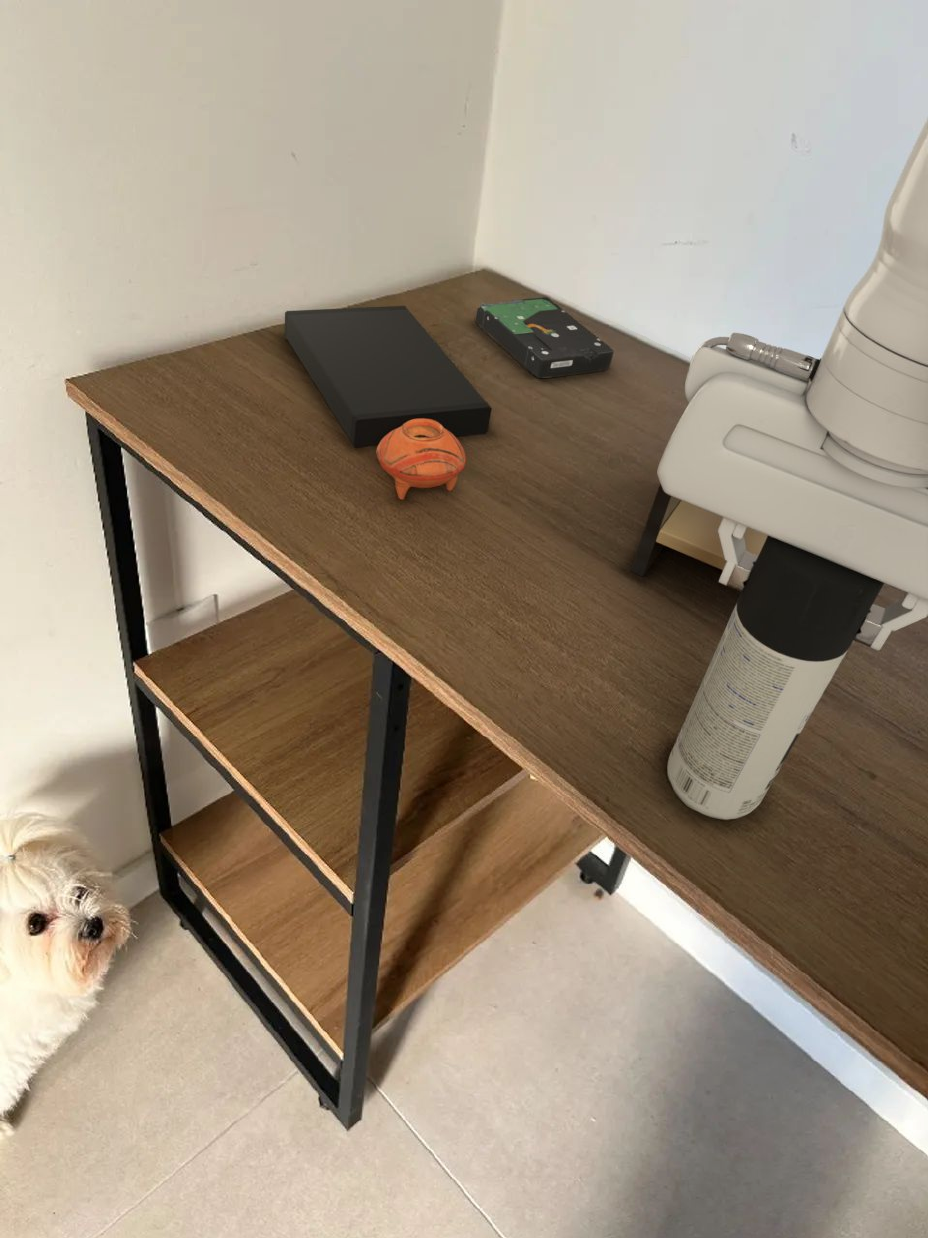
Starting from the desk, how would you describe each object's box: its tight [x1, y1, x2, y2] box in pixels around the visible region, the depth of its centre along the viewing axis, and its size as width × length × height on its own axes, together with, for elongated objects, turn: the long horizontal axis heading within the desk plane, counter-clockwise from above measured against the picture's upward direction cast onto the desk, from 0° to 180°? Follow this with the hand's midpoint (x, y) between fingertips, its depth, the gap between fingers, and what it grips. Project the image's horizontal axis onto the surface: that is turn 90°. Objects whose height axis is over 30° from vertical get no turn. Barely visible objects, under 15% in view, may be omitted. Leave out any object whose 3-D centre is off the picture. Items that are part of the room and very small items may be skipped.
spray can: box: [666, 536, 885, 821], centre depth 57 cm, size 7×7×20 cm
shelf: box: [630, 381, 812, 577], centre depth 79 cm, size 14×16×15 cm
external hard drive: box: [284, 305, 493, 448], centre depth 97 cm, size 14×23×3 cm, turn 25°
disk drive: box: [475, 296, 615, 379], centre depth 110 cm, size 10×3×15 cm
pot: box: [375, 418, 467, 500], centre depth 83 cm, size 8×8×7 cm
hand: (799, 611), depth 53 cm, fingers closed on spray can, 6 cm apart
